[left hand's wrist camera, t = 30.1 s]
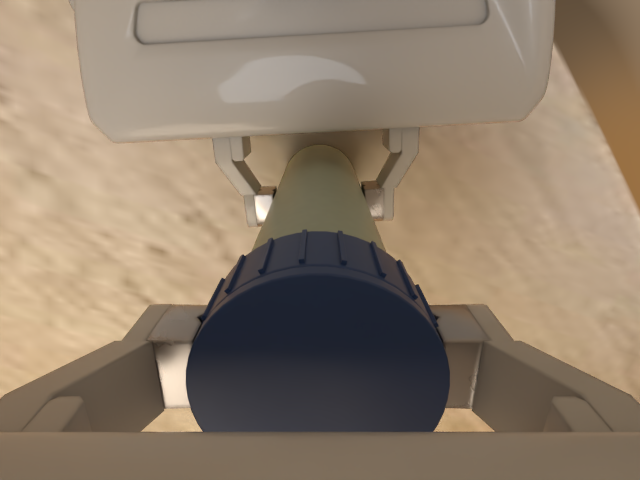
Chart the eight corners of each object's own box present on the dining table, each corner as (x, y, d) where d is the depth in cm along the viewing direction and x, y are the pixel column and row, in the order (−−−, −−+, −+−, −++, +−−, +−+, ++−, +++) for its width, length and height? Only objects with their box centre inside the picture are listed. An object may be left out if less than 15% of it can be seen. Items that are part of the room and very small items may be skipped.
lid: (165, 318, 10) (123, 381, 8) (330, 178, 9) (334, 207, 7) (308, 440, 12) (305, 522, 9) (467, 336, 10) (506, 403, 8)
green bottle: (271, 165, 26) (172, 326, 8) (335, 131, 25) (368, 233, 8) (305, 225, 27) (278, 466, 10) (366, 194, 26) (452, 399, 9)
